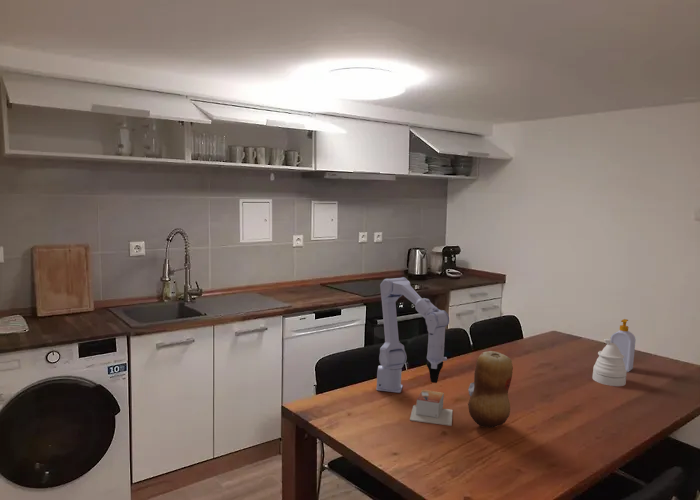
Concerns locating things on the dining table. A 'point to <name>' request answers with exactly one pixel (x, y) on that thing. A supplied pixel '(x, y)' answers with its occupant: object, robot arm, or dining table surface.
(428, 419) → the mat
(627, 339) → the soap bottle
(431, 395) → the small box
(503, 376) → the butternut squash
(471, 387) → the stone block
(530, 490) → the dining table surface
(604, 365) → the honey pot
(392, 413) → the dining table surface
